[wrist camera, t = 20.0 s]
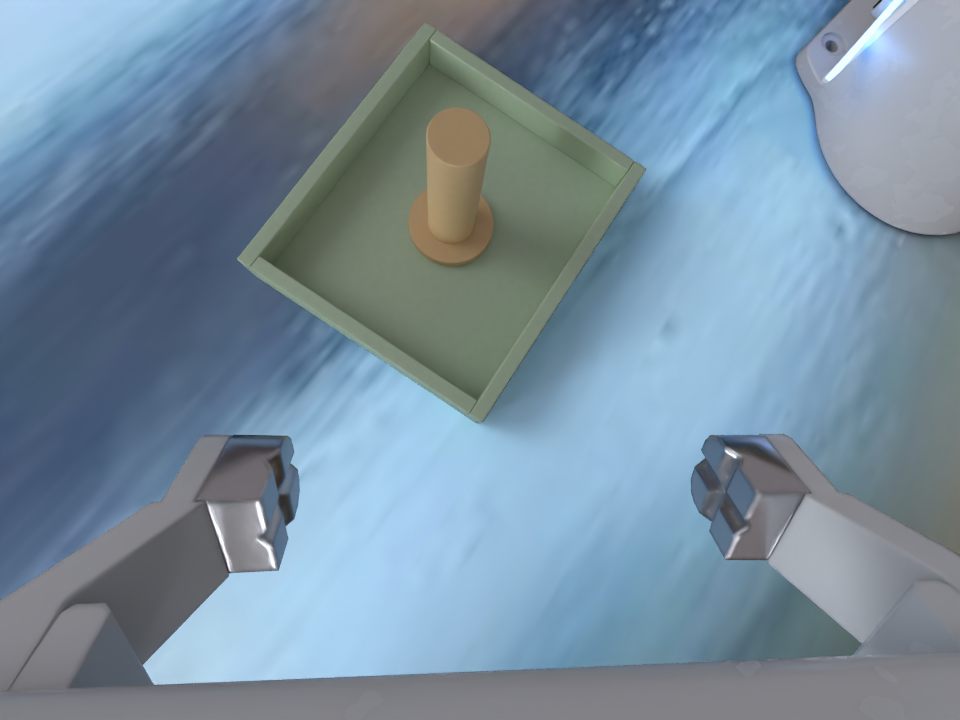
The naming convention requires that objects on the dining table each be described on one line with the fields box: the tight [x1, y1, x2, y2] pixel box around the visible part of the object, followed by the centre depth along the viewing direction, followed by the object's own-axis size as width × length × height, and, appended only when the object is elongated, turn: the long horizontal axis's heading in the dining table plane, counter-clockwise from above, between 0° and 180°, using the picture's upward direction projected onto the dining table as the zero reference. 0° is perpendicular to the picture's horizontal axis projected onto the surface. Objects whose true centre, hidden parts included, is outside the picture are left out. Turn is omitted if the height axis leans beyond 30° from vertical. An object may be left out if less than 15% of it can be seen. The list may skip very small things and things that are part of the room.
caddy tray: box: [237, 23, 646, 423], centre depth 25 cm, size 17×15×10 cm
